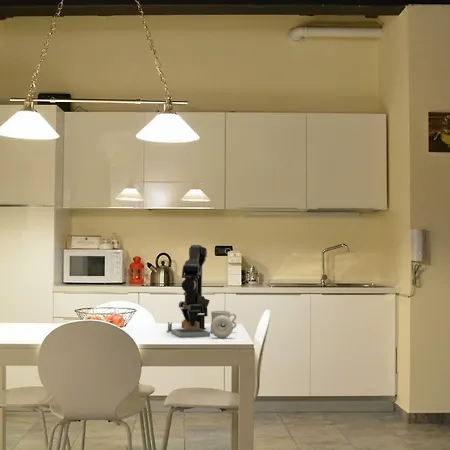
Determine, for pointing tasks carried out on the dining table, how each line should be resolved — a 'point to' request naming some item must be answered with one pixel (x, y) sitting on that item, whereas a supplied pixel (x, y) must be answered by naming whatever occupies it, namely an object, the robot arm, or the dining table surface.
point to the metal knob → (169, 326)
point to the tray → (190, 332)
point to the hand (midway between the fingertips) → (190, 325)
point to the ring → (189, 325)
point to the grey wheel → (216, 330)
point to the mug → (224, 313)
